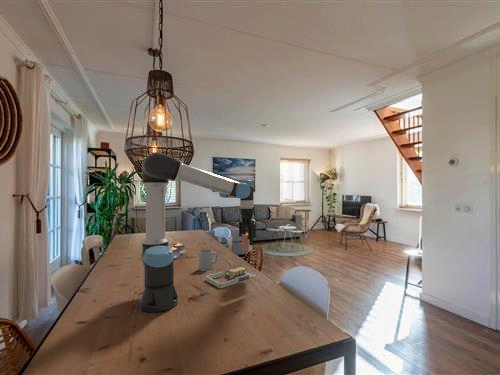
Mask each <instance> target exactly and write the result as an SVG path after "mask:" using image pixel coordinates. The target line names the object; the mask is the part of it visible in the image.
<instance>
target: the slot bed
mask: <svg viewBox="0 0 500 375" xmlns="http://www.w3.org/2000/svg"><path fill="white" fill-rule="evenodd" d="M257 276H258V275H257V274H254V273H252V272H250V271H247V270H246V274H243V275H240V276H236V277H233V279H237V278H239V282H240V281H243V280H247V279H250V278H254V277H257ZM224 277H225V278H227V279H229V280H232V279H230V278H229V272H226V273H225V274H224Z"/></svg>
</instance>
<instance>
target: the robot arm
mask: <svg viewBox="0 0 500 375" xmlns="http://www.w3.org/2000/svg"><path fill="white" fill-rule="evenodd" d="M140 167H141V172H142V173H141V176H142V177H141V178H142V180H141V181H142V183H141V184H142V185H144V187H145V239H144V240H142V243H141V244H142V245H141V249H142V251H141V254H140V255H141V257H140V259H141V262H142V265H143V272H144V276H143V277H144V279H143V280H144V289H143V292H142V294H141V297H140V301H139V309H140V310H141V311H142V310H143V311H142V312H144V311H145V313H149V312H150V313H152V314H153V313H162V312H166V311H168V310H171V309H173V308H174V307H176V306H177V305H178V304H179V295H178V292H177V290H176V287H175V284H174V283H175V280H174V276H175V275H174V273H175V272H174V262H175V261H174V258H175V254H174V250H173V248H172V247H170V246H169V239H168V238H167V237H166V186H168V185H169V181H173V182H175V181H177V180H178V181H180V182H183V183H187V184H191V185H194V186H197V187H200V188H204V189H207V190H211V191H213V192H216V193H218V195H219V197H220V198H221V199H223V198H225V199H226V198H231V199H239V207H240V210H239V212H240V213H239V214H240V215H241V216H240V218H238V219H237V221H238V236H239V237H241V238H242V234H248V236H249V238H248V251H249V252H252V251H253V244H254V239H256V238H257V236H256V235H257V234H256V233H257V231H256V230H257V227H256V226H257V222H258V221H257V219H254V217H253V216H254V214H255V211H254V206H255V204H254V202H255V200H254V195H255V193H254V189H255V188H254V181H253V179H241V180H240V181H237V180H233V179H231V178H228V177H225V176H221V175H218V174H215V173H213V172H210V171H207V170H203V169H201V168H197V167H195V166H191V165H188V164H186V163H183V161H182V160H180V159H178V158H176V157H172V156H170V155H168V154H165V153H163V152H152V153H150V154H149V155H147V156H146V158H144V160H143V161H142V164H141V166H140Z"/></svg>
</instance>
